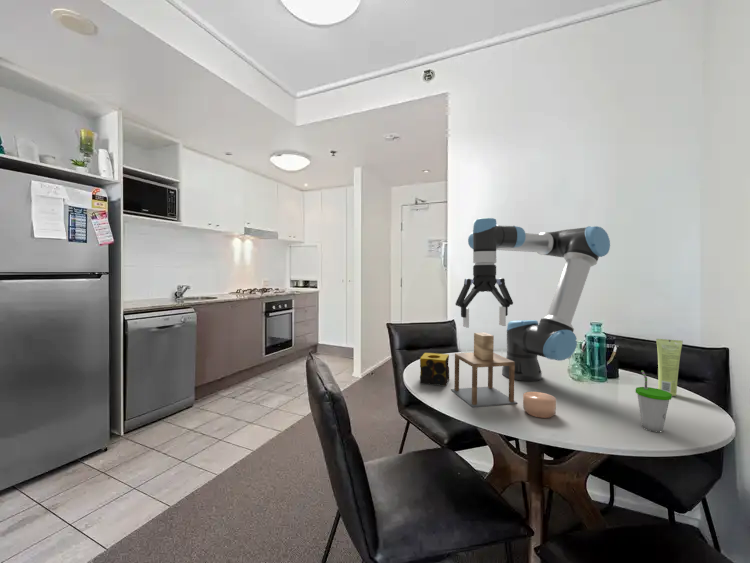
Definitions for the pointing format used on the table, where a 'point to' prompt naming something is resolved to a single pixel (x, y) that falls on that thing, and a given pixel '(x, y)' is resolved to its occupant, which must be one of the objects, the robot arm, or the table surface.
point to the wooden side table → (484, 364)
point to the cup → (652, 406)
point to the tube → (668, 364)
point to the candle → (434, 369)
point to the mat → (484, 396)
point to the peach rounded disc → (539, 404)
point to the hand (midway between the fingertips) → (484, 326)
